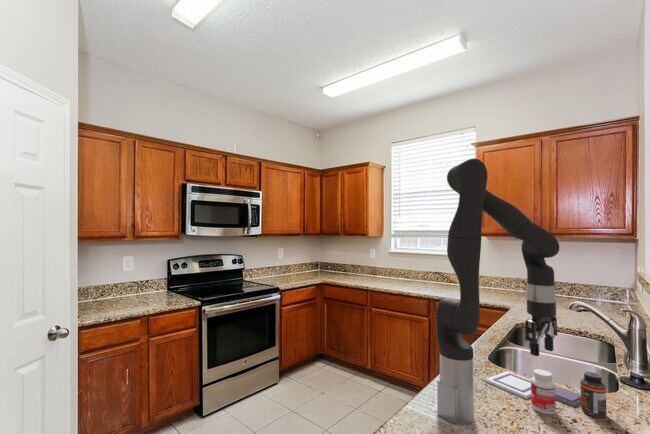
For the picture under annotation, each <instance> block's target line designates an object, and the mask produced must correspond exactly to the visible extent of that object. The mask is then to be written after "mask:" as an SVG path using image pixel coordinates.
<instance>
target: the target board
mask: <svg viewBox="0 0 650 434" xmlns="http://www.w3.org/2000/svg"><path fill="white" fill-rule="evenodd" d="M484 382H485V383H487V384H489V385H492V386H495V387H497V388H500V389H502V390H503V391H506V392H508V393H511V394H513V395H516V396H518V397H520V398H522V399H525V400H528V399H531V379H530V378H527V377H525V376H522V375H519V374H518V373H517V374H516V373H514V372H511V371H508V370H506V371H504V372H501V373H499V374H495V375H493V376H490V377H487V378H485V381H484Z"/></svg>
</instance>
